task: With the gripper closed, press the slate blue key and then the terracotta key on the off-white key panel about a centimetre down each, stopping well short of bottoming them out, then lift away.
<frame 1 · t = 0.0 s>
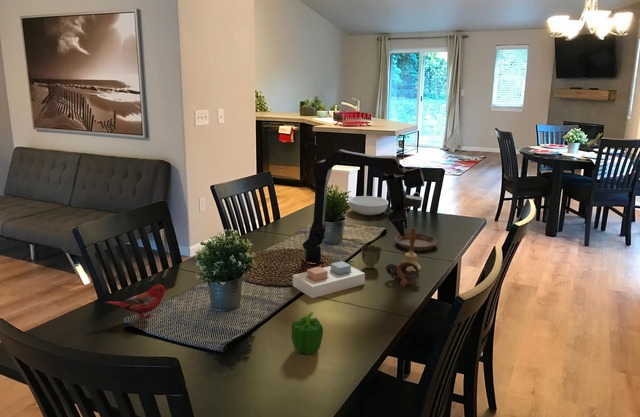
hand: (404, 232, 186), 15 cm above the table, tool pointing down, fingers open, 9 cm apart
decorative bird figurine: (138, 318, 150), on the table
cup: (370, 268, 194), on the table
serving bowl: (368, 213, 271), on the table
bell pepper: (307, 350, 135), on the table
blue key: (340, 268, 178), point 5 cm above the table, slide at 0.0 cm
hand bell: (410, 268, 194), on the table
terracotta key: (317, 274, 173), point 5 cm above the table, slide at 0.0 cm
key panel: (328, 284, 177), on the table
plant saucer: (415, 246, 220), on the table
pottery mug: (401, 281, 182), on the table
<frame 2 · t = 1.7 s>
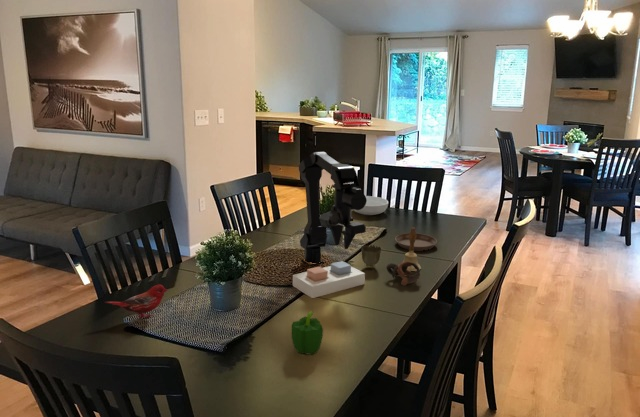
hand: (341, 246, 176), 13 cm above the table, tool pointing down, fingers open, 5 cm apart
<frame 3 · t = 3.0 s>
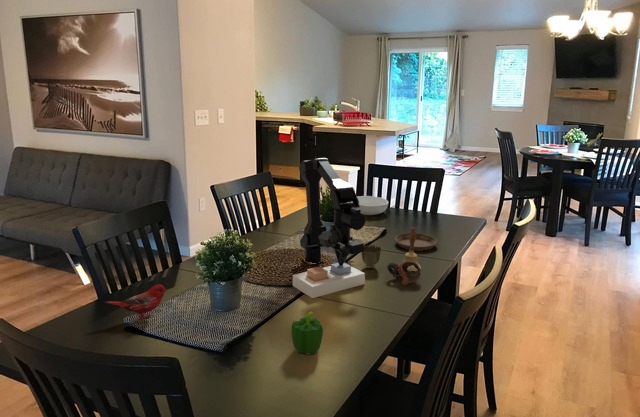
hand: (340, 265, 178), 6 cm above the table, tool pointing down, fingers closed, pressing on blue key
blue key: (340, 269, 178), point 5 cm above the table, slide at 0.2 cm, touching gripper
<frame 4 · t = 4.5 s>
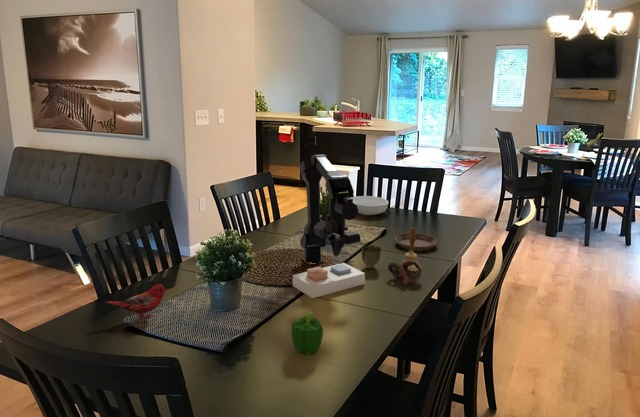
hand: (336, 256, 176), 10 cm above the table, tool pointing down, fingers closed
blue key: (340, 271, 178), point 4 cm above the table, slide at 1.2 cm
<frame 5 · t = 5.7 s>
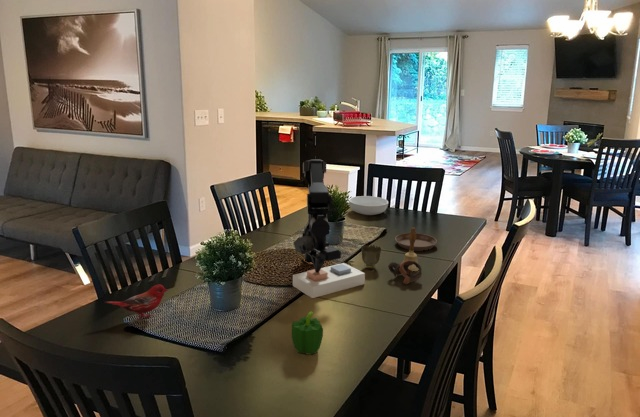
hand: (317, 271, 172), 6 cm above the table, tool pointing down, fingers closed, pressing on terracotta key
terracotta key: (317, 276, 173), point 4 cm above the table, slide at 0.6 cm, touching gripper
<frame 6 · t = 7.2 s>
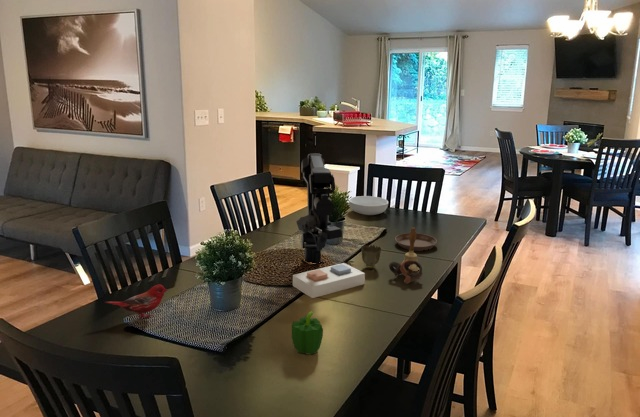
hand: (319, 250, 177), 11 cm above the table, tool pointing down, fingers closed
terracotta key: (317, 277, 173), point 4 cm above the table, slide at 1.1 cm
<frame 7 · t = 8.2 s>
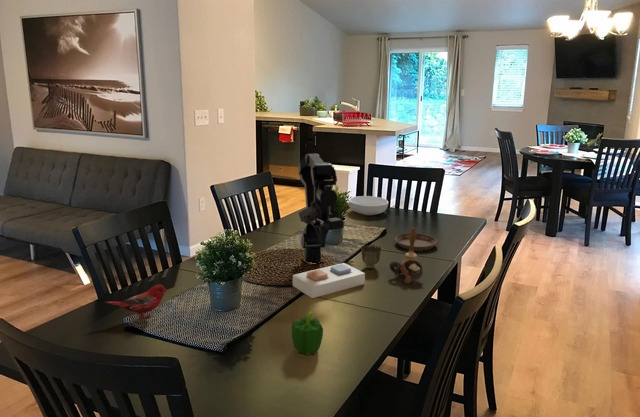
hand: (321, 242, 181), 13 cm above the table, tool pointing down, fingers closed
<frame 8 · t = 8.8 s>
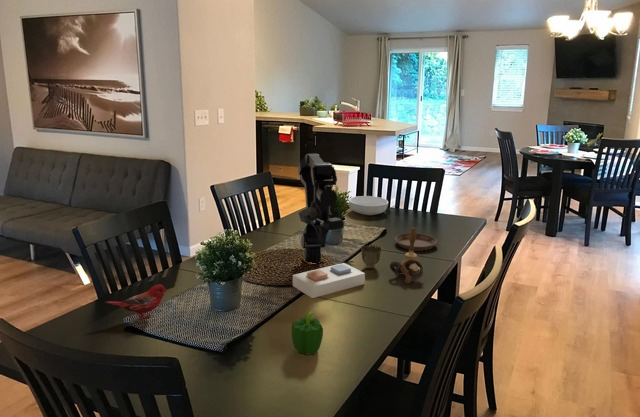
hand: (321, 242, 181), 13 cm above the table, tool pointing down, fingers closed
at the end: blue key slide at 1.2 cm; terracotta key slide at 1.1 cm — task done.
